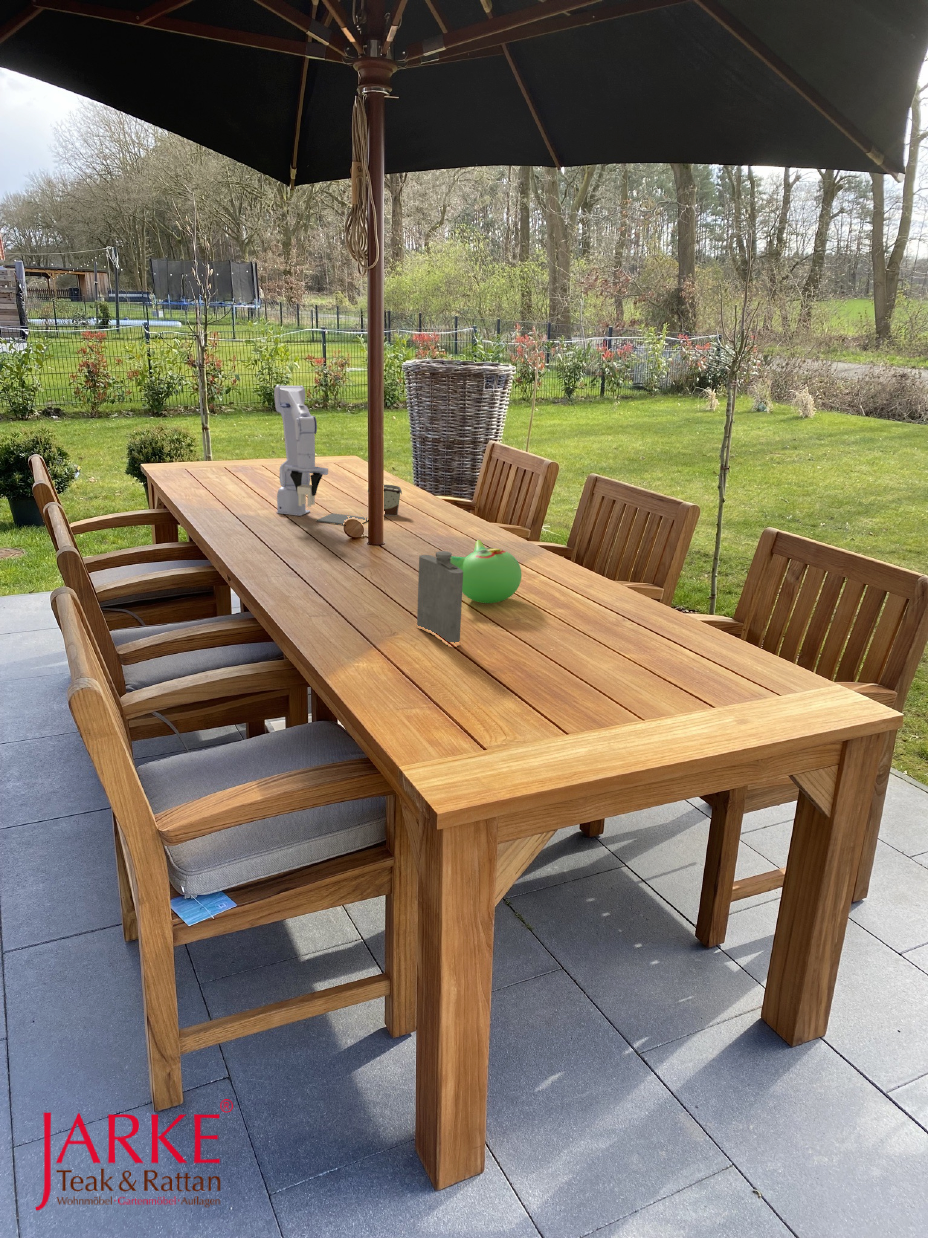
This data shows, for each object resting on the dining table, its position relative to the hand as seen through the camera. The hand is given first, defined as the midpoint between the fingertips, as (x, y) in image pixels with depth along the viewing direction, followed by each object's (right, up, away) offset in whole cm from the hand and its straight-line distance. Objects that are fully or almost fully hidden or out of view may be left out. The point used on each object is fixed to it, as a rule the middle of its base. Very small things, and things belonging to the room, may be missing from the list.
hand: (306, 494), depth 298 cm
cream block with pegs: (0, -3, +1) cm, 4 cm away
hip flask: (+47, -46, -91) cm, 112 cm away
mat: (+11, -7, +12) cm, 18 cm away
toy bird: (+58, -37, -64) cm, 94 cm away
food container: (+24, -3, +26) cm, 35 cm away
